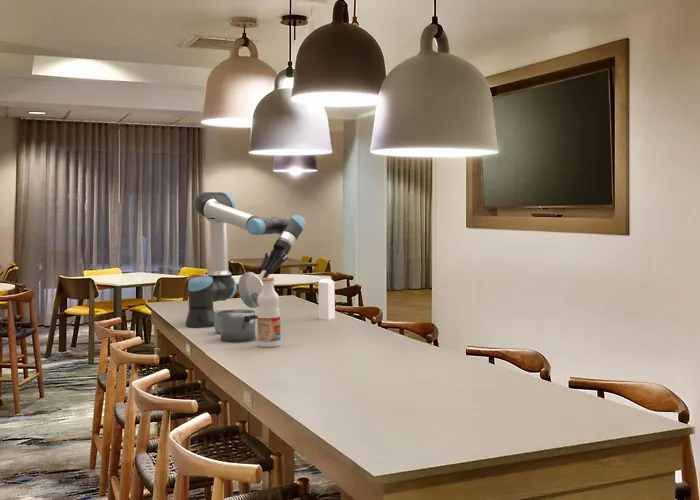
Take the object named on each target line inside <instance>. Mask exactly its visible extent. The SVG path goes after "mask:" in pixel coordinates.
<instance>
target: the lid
mask: <svg viewBox="0 0 700 500" xmlns="http://www.w3.org/2000/svg"><path fill="white" fill-rule="evenodd" d="M237 283H238V285H237V289H238V293H239V297H240V299H241V301H242V302H243V303H244V305H246V307H248V308H250V309H256V308H257V309H258V307H259V306H258V302H257V298H258V295H259V294H260V293H261V290H262V287H263V283H262V281H261V279H260V278H259V274H257V273H255V272H253V271H252V272H251V271H246V272H244V273H242V275H241V276H240V277H239V280H238V282H237Z"/></svg>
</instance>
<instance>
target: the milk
mask: <svg viewBox="0 0 700 500" xmlns="http://www.w3.org/2000/svg"><path fill="white" fill-rule="evenodd" d="M317 284H318V319H319V320H320V321H321V320H323V321H331V320H335V319H336V307H335V306H336V305H335V304H336V302H335V301H336V299H335V298H336V297H335V296H336V295H335V294H336V293H335V289H336V288H335V281H334V280H333V279H332V275H321V277H320V280H319V281H318V283H317Z"/></svg>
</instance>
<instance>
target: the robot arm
mask: <svg viewBox="0 0 700 500" xmlns="http://www.w3.org/2000/svg"><path fill="white" fill-rule="evenodd" d="M193 209H194V212H196V214H198V215H200V216H202V217H203V218H206V221H208V222H209V231H210V234H209V236H210V237H209V238H210V272H209V273H208V275H205V276H204V275H203V276H196V277H193V278H191V279H189V280H188V284H187V285H188V287H187V291H188V293H187V294H188V312H187V316H186V319H185V327H188V328H210V327H214V311H215V310H214V303H216V302H221V301H222V302H224V301H227V300H230V299H232V298H233V297H234V296H235V294H236V292H237V289H238V285H237V282H236V280H235V278H233V277H232V272H230V270H229V235H228V233H229V231H228V229H229V228H228V227H229V226H228V224H229V225H232V226H235V227H237V228H240V229H243V230H245V231H247V232H248V234H249V235H253V236H261V235H263V236H264V235H279V236H278V237H277V239H276V241H275V242H274V244H273V249H272V250H271V251H270V253H268V252H265V254H264V258H263V260H262V262H261V265H260V267H259V270H260V273H259V274H258V276H259V278H260V279H261V281H262V278H269V276H270V275H272V274H275V272H276V271H278V269H279V268H280V266H282V264H283V263H284V262H285V261H286V260H288V258H289V257H288V256H287V255H288V254H289V253H290V252H291V249H292V248H293V247H294V245H295V243H296V242H297V240H298V238H299V237H300V236H301V234H302V233H303V232H304V229H305V227H306V226H307V221H306V219H305V218H304V217H302V216H301V215H299V214H294V215H293V216H292V217H290V218H282V217H277V216H269V217H259V216H257V215H254V214H251V213H248V212H246V211H243V210H240V209H237V208H236V203H235V200H234V198H233V196H231V195H230V194H229V193H227V192H222V191H216V192H215V191H211V192H207V191H205V192H201V193H199V194H197V195H196V196H195V198H194V200H193ZM262 283H263V282H262Z"/></svg>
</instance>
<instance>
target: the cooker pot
mask: <svg viewBox="0 0 700 500" xmlns="http://www.w3.org/2000/svg"><path fill="white" fill-rule="evenodd" d="M225 310H226V311H221V312H220V313H219V316H220V333H219V335H220V341H221V342H224V343H245V342H252V341H255V340H256V339H257V338H256V337H257V336H256V320H257V314H256V310H253V309H225Z"/></svg>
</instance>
